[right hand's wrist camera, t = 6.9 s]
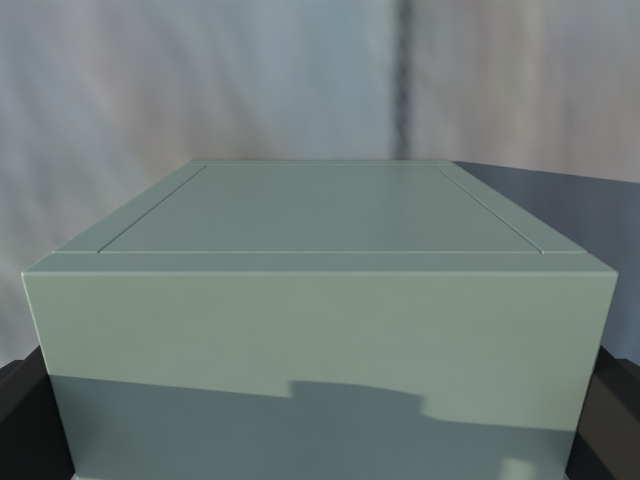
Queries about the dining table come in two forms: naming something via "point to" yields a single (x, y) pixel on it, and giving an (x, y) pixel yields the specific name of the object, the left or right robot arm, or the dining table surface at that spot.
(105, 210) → the dining table surface
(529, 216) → the cabinet
